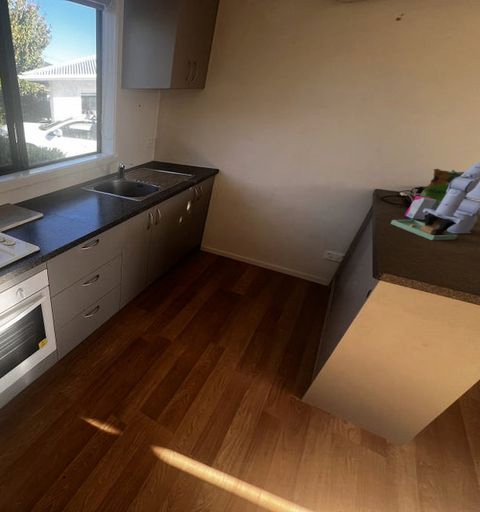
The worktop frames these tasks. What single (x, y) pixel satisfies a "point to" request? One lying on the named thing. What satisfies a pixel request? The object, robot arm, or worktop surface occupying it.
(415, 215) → the supplement box
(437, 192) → the pouch
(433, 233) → the eraser
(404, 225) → the tray
